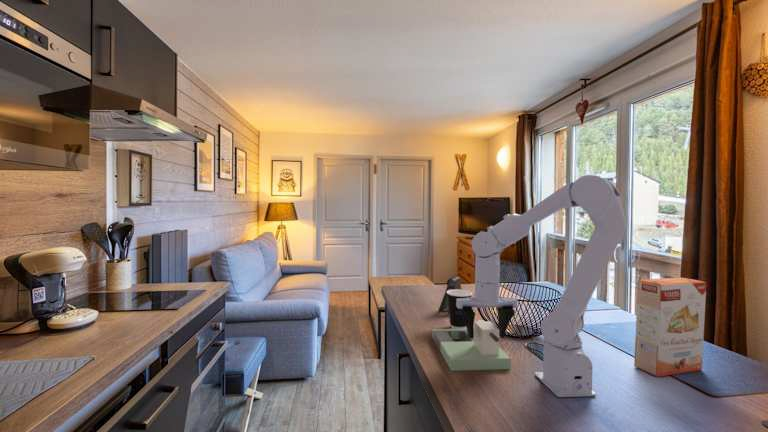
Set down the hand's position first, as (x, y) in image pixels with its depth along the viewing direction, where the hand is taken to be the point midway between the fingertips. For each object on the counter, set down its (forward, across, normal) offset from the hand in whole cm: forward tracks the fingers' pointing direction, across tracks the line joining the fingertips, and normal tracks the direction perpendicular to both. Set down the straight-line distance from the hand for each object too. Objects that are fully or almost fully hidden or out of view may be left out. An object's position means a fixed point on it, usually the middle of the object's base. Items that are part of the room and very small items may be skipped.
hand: (485, 336), depth 85 cm
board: (+6, +3, -5) cm, 8 cm away
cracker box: (+6, -41, +7) cm, 42 cm away
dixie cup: (+6, 0, -23) cm, 24 cm away
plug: (+3, 0, +1) cm, 3 cm away
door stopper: (+6, -3, -40) cm, 40 cm away
